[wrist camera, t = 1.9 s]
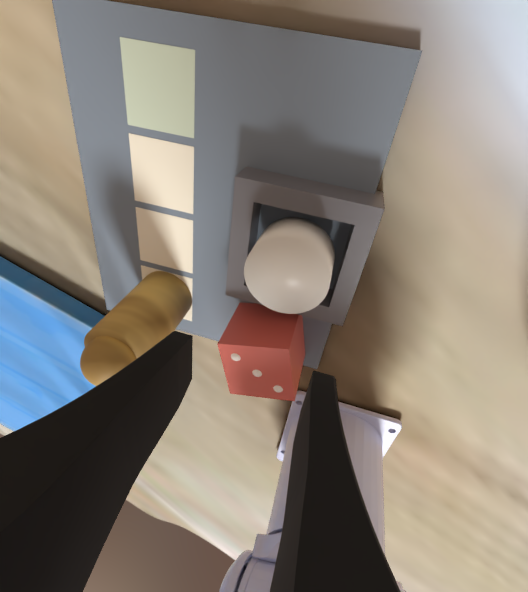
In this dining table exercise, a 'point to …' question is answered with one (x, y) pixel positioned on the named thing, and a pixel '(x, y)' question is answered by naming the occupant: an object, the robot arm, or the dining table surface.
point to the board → (215, 137)
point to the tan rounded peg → (134, 325)
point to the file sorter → (39, 347)
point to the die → (263, 352)
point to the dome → (290, 266)
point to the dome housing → (313, 201)
